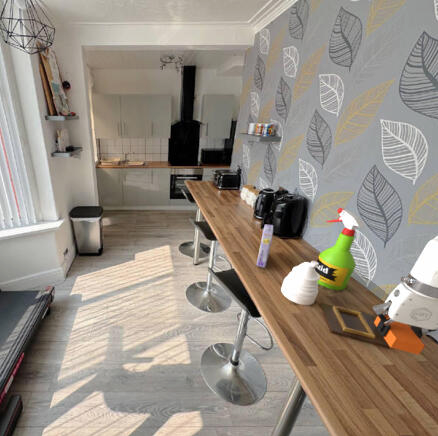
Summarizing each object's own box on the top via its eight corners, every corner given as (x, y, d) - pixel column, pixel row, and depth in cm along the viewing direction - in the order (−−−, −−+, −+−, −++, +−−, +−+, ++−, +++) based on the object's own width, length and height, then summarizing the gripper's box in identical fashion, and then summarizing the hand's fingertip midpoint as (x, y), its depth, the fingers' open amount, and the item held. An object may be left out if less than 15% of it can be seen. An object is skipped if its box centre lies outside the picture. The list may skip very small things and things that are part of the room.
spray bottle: (320, 266, 125) (344, 204, 111) (353, 288, 108) (386, 219, 94) (298, 268, 122) (320, 205, 108) (328, 291, 106) (359, 221, 92)
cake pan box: (258, 249, 138) (265, 222, 131) (267, 252, 136) (275, 224, 129) (254, 266, 122) (262, 236, 115) (265, 269, 120) (273, 238, 113)
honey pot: (321, 299, 101) (336, 265, 94) (302, 308, 96) (316, 272, 88) (293, 282, 111) (304, 249, 104) (274, 289, 106) (285, 255, 99)
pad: (398, 328, 70) (404, 319, 68) (418, 354, 62) (425, 345, 61) (373, 322, 72) (378, 314, 70) (390, 347, 64) (396, 338, 62)
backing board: (368, 316, 93) (371, 312, 92) (389, 348, 80) (392, 343, 79) (319, 304, 98) (321, 300, 97) (330, 332, 85) (333, 327, 84)
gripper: (393, 286, 59) (364, 337, 66) (488, 305, 54) (445, 358, 61) (377, 269, 65) (353, 318, 72) (461, 285, 60) (425, 335, 67)
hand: (395, 336), depth 66 cm, fingers closed on pad, 6 cm apart
